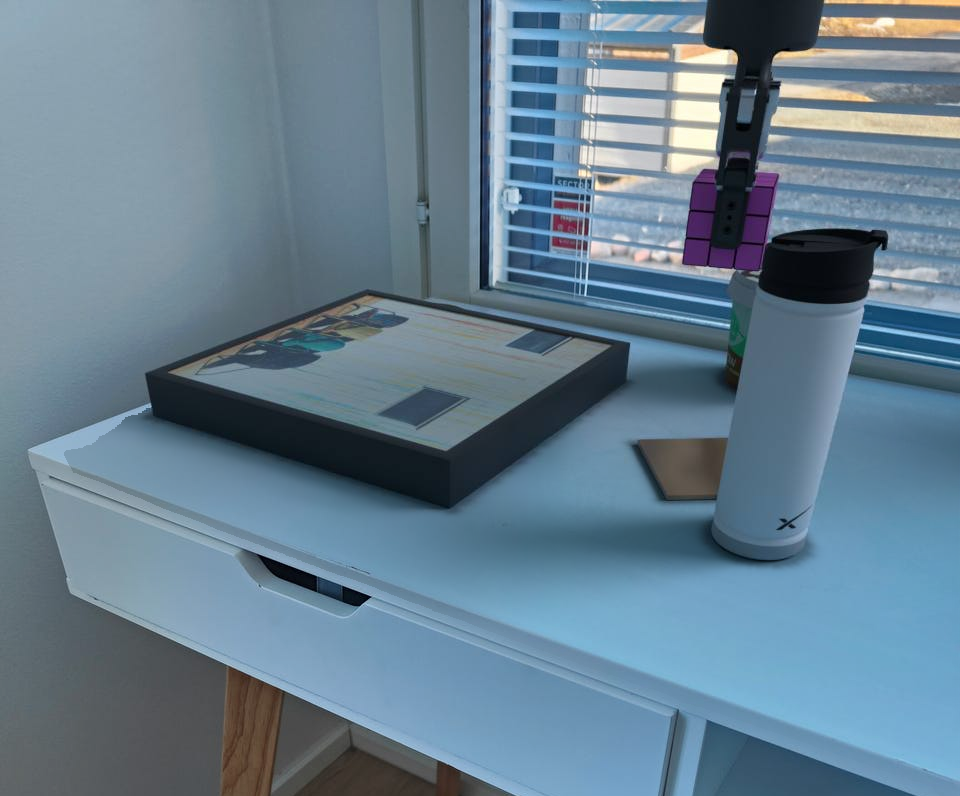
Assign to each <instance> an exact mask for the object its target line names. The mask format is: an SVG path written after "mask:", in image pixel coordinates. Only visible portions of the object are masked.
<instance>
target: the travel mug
mask: <svg viewBox="0 0 960 796" xmlns="http://www.w3.org/2000/svg"><path fill="white" fill-rule="evenodd" d="M888 244H889V234H888V231H887V230H883V229H871V230H870V231H869V230H865V229H858V228H845V227H843V228H841V227H840V228H839V227H829V228H828V227H827V228H826V227H825V228H824V227H823V228H811V229H810V228H809V229H800V230H793V231H789V232H784V233H780V234H777V235H775V236H773V237H771V241H770V242H767V244H766V245H765V250H764V255H763V260H762V268H763V270H762V271H761V272H760V276H759V281H758V283H757V287H756V294H757V295H756V296H755V298H754V303H753V308H752V314H751V319H750V325H749V330H748V335H747V341H746V346H745V351H744V357H743V362H742V367H741V373H740V378H739V383H738V389H737V390H736V395H735V401H734V406H733V411H732V416H731V422H730V427H729V432H728V437H727V438H728V442H727V448H726V453H725V458H724V464H723V469H722V475H721V480H720V485H719V491H718V496H717V499H716V500H715V501H716V502H715V508H714V513H713V516H712V517H713V518H712V523H711V530H710V531H711V535H712V537H713V539H714V540H715V542H716V543H717V544H718V545H719V546H720V547H722V548H724V550H726V551H728V552H730V553H732V554H735V555H738V556H740V557H744V558H746V559H752V560H759V561H777V560H783V559H786V558H787V559H788V558H790V557H793V556H795V555H797V554H799V553H800V552H801V550H803V549H804V546H805V543H806V540H807V535H808V532H809V526H810V523H811V520H812V517H813V511H814V508H815V504H816V500H817V496H818V493H819V489H820V485H821V482H822V476H823V473H824V469H825V466H826V461H827V457H828V454H829V450H830V445H831V442H832V438H833V435H834V430H835V426H836V423H837V420H838V419H837V418H838V415H839V412H840V407H841V403H842V398H843V396H844V391H845V388H846V384H847V380H848V376H849V372H850V367H851V363H852V360H853V356H854V353H855V349H856V344H857V340H858V336H859V332H860V330H861V325H862V321H863V318H864V313H865V307H864V306H865V305H866V304H867V301H868V297H869V290H870V286H871V283H870V280H871V279H872V278H873V275H874V269H875V262H874V261H875V253H876V251H877V249H878V248H880V247H881V251H887V249H888Z"/></svg>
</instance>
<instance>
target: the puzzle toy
mask: <svg viewBox="0 0 960 796" xmlns="http://www.w3.org/2000/svg"><path fill="white" fill-rule="evenodd" d="M716 171H717V172H718V168H717V169H714V168H703V169H701V170H700V172H699V173H698V175H697V176H696V177H695V179H694V180H693V182H692V184H691V191H690V199H689V205H688V209H689V210H688V214H687V220H686V221H687V222H686V228H685V238H684V242H683V243H684V244H683V251H682V258H681V265H683V266H690V267H691V266H693V267H702V268H711V269H712V268H714V269H726V270H735V271H736V270H745V271H756V272H758V271H759V270H760V268H761V265H762V260H763V255H764V250H765V245H766V244H767V243H768V241H769V236H770V228H771V224H772V219H773V213H774V208H775V201H776V196H777V191H778V186H779V185H778V184H779V180H780V174H779V173H778V172H763V171H762V172H761V171H755V174H757V175H756V181H755V187H754V188H752V192H751V193H750V195H749V201H748V207H747V213H746V219H745V225H744V231H743V237H742V243H741V246H740V247H739V248H738V249H736V250H730V249H717V248H713V247H712V246H711V244H710V239H711V233H712V226H713V219H714V213H715V206H716V199H717V192H718V191H716V187H717V186H716V185H715V173H716ZM744 192H745V191H744Z"/></svg>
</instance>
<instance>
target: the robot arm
mask: <svg viewBox="0 0 960 796" xmlns="http://www.w3.org/2000/svg"><path fill="white" fill-rule="evenodd" d="M824 5H825V0H707V1H706V9H705V17H704V24H703V31H702V32H703V33H702V41H703V44H704V45H705V46H706V47H707V48H710V49H715V50H723V51H732V52H734V53H735V54H736V57H737V61H736V68H735V73H734V78H724V80H723V81H722V82H721V88H720V93H719V99H718V111H719V112H720V115H719V123H718V129H717V135H716V142H715V154H716V156H717V157H719V158H718V159H719V160H718V166H717V169H718V172H717V171H716V173H715V185H716V186H717V187H716V191H718V192H717V199H716V206H715V213H714V219H713V226H712V233H711V239H710V244H711V246H712V247H713V248H717V249H730V250H736V249H738V248H739V247H740V246H741V243H742V237H743V231H744V225H745V219H746V213H747V207H748V201H749V195H750V193H751V192H752V188H754V187H755V181H756V175H757V174H755V172H757V171H758V170H759V165H760V162H758V161H759V160H761V159H763V158H764V157H765V156H766V154H767V149H768V147H767V146H768V142H769V135H770V129H771V125H772V118H773V117H774V115H775V114H776V113H777V110H778V105H779V100H780V94H781V88H782V83H783V81H782V80H775V78H774V76H773V71H772V68H773V67H772V66H773V61H774V58H775V57H776V56H777V55H778V54H780V53H783V52H784V53H785V52H786V53H798V52H806V51H809V50H811V49H812V48H813V47H815V45H816V44H817V42H818V36H819V33H820V28H821V27H820V26H821V21H822V15H823V12H824V11H823V10H824ZM772 76H773V77H772ZM756 170H757V171H756ZM744 191H745V192H744Z"/></svg>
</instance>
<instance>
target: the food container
mask: <svg viewBox="0 0 960 796" xmlns="http://www.w3.org/2000/svg"><path fill="white" fill-rule="evenodd" d="M762 270H763V268H762V265H761V268H760V270H759V271H758V272H756V271H745V270H735V271H734V272H733V273H732V275H731V277H730V279H729V283H728V285H727V288H726V292H725V293H726V296H727V297H728V298H729V299H730V300H732V302H731V313H730V324H729V332H728V343H727V353H726V362H725V372H724V380H725V383H726V384H727V385H728V386H729V387H730V388H732V389H733V390H735V391H737V389H738V383H739V378H740V373H741V367H742V362H743V357H744V351H745V346H746V341H747V335H748V330H749V325H750V319H751V314H752V308H753V303H754V298H755V296H756V295H757V294H756V287H757V283H758V281H759V276H760V272H761V271H762Z"/></svg>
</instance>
